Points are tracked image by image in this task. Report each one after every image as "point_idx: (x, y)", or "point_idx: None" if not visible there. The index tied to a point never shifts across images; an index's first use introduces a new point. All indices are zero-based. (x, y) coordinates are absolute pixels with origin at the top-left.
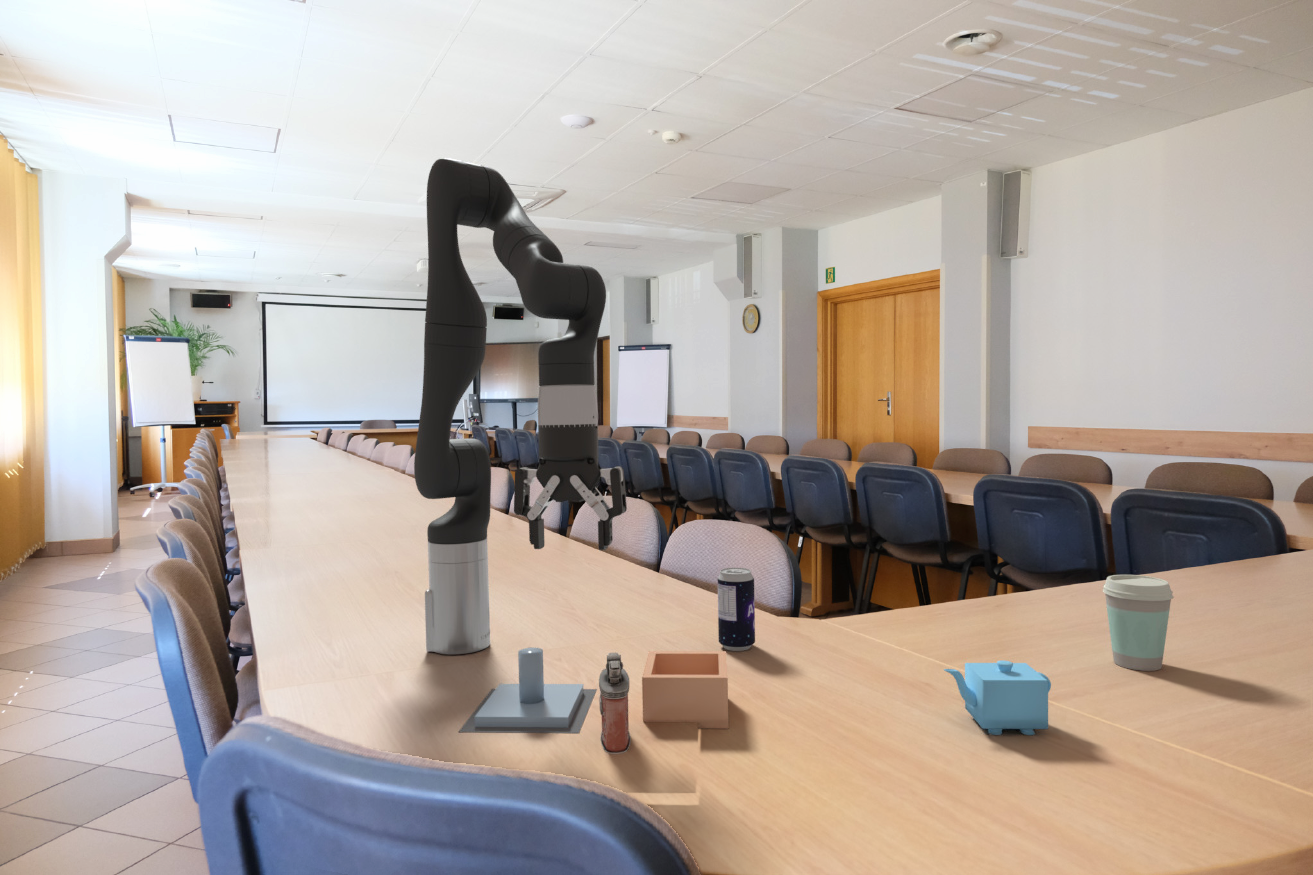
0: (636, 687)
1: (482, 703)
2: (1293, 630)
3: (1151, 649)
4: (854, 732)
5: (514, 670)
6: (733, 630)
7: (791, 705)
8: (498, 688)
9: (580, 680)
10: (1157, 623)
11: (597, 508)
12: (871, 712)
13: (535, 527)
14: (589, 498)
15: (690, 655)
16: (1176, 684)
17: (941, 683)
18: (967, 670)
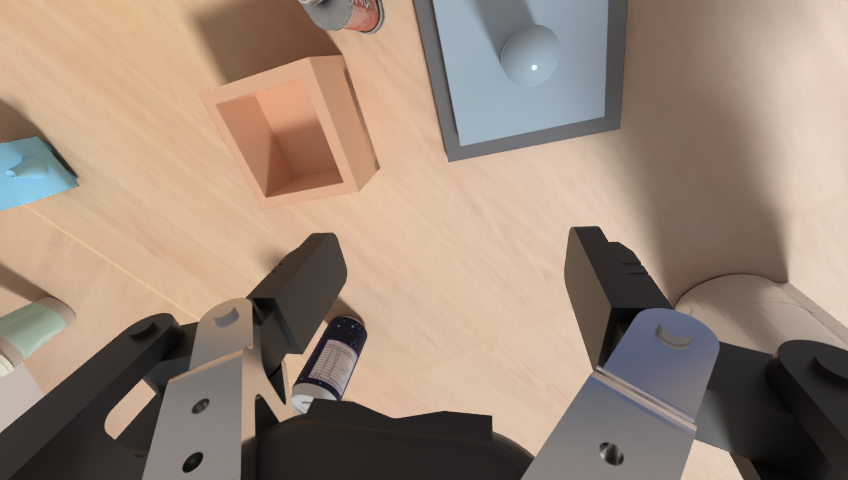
0: (408, 196)
1: (620, 54)
2: (30, 369)
3: (22, 307)
4: (136, 113)
5: (604, 229)
6: (336, 330)
7: (225, 175)
8: (600, 92)
9: (491, 207)
10: None
11: (227, 346)
12: (152, 172)
13: (616, 279)
14: (200, 393)
15: (300, 190)
16: (19, 273)
17: (144, 254)
18: (22, 194)
